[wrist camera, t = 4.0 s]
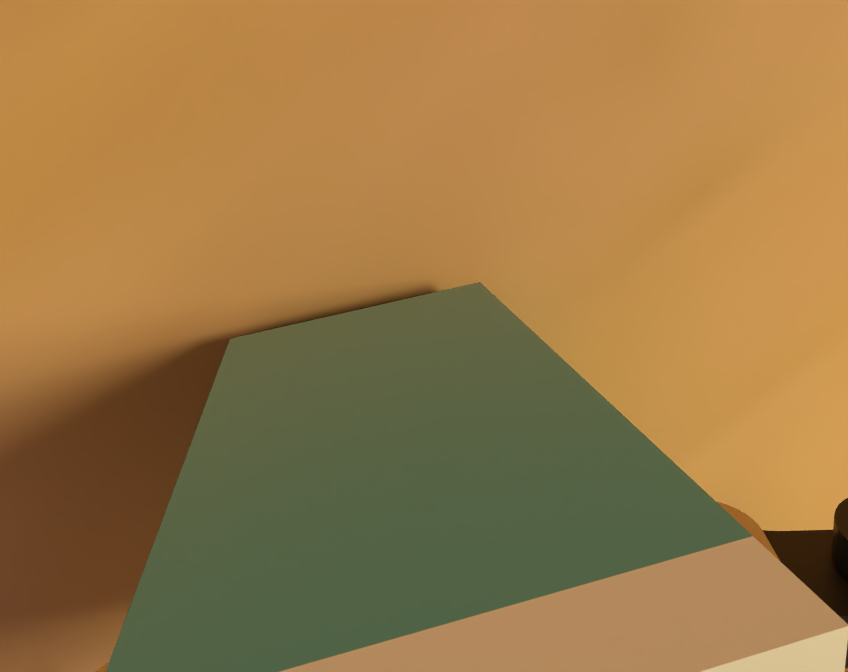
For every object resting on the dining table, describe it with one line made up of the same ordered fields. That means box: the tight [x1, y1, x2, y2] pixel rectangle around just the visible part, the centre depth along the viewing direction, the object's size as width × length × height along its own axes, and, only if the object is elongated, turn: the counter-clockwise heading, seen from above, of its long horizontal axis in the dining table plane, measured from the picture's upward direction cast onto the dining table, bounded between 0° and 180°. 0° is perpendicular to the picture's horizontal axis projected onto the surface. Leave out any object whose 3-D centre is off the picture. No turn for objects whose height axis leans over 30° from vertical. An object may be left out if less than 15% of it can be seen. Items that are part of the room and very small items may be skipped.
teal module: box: [106, 282, 848, 672], centre depth 8 cm, size 6×4×8 cm
